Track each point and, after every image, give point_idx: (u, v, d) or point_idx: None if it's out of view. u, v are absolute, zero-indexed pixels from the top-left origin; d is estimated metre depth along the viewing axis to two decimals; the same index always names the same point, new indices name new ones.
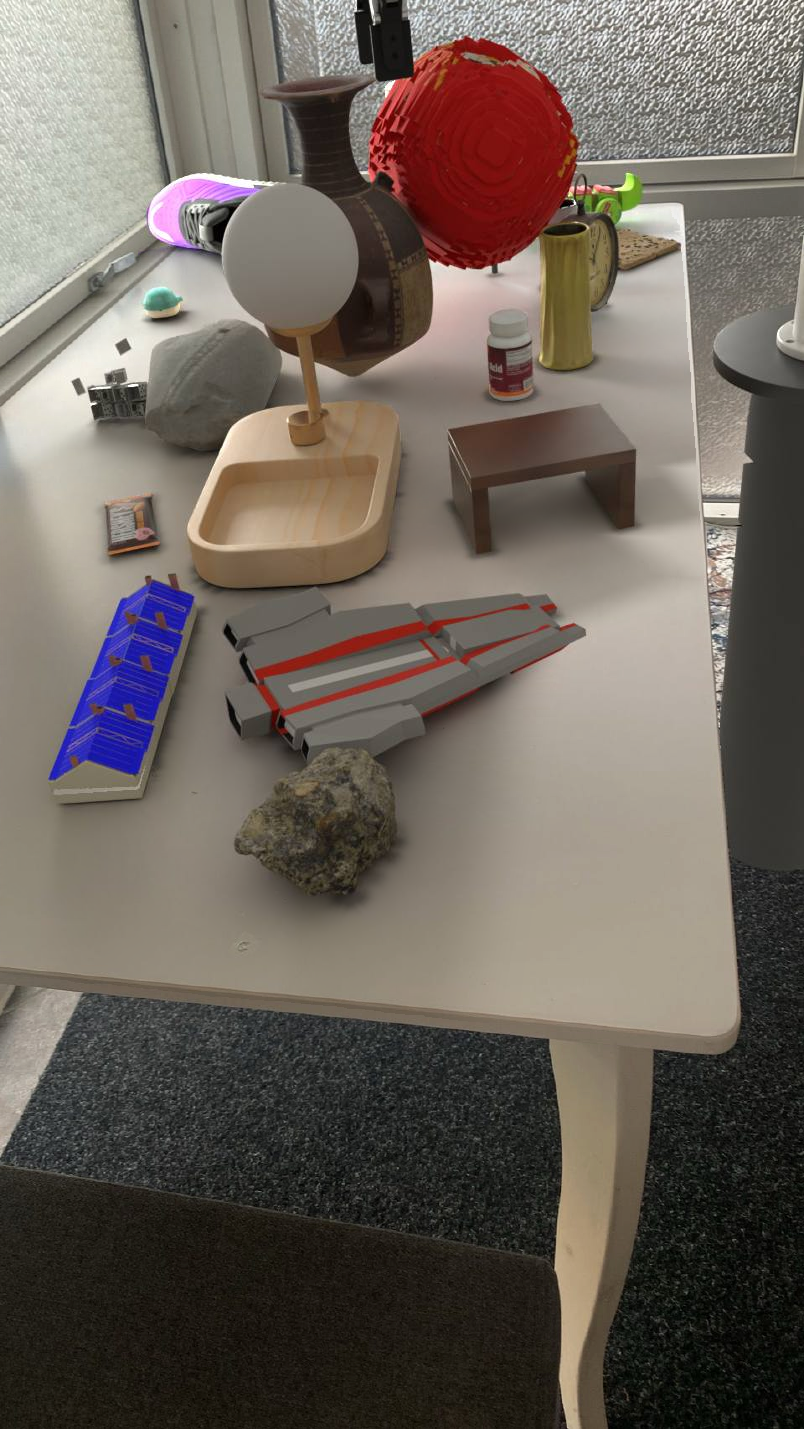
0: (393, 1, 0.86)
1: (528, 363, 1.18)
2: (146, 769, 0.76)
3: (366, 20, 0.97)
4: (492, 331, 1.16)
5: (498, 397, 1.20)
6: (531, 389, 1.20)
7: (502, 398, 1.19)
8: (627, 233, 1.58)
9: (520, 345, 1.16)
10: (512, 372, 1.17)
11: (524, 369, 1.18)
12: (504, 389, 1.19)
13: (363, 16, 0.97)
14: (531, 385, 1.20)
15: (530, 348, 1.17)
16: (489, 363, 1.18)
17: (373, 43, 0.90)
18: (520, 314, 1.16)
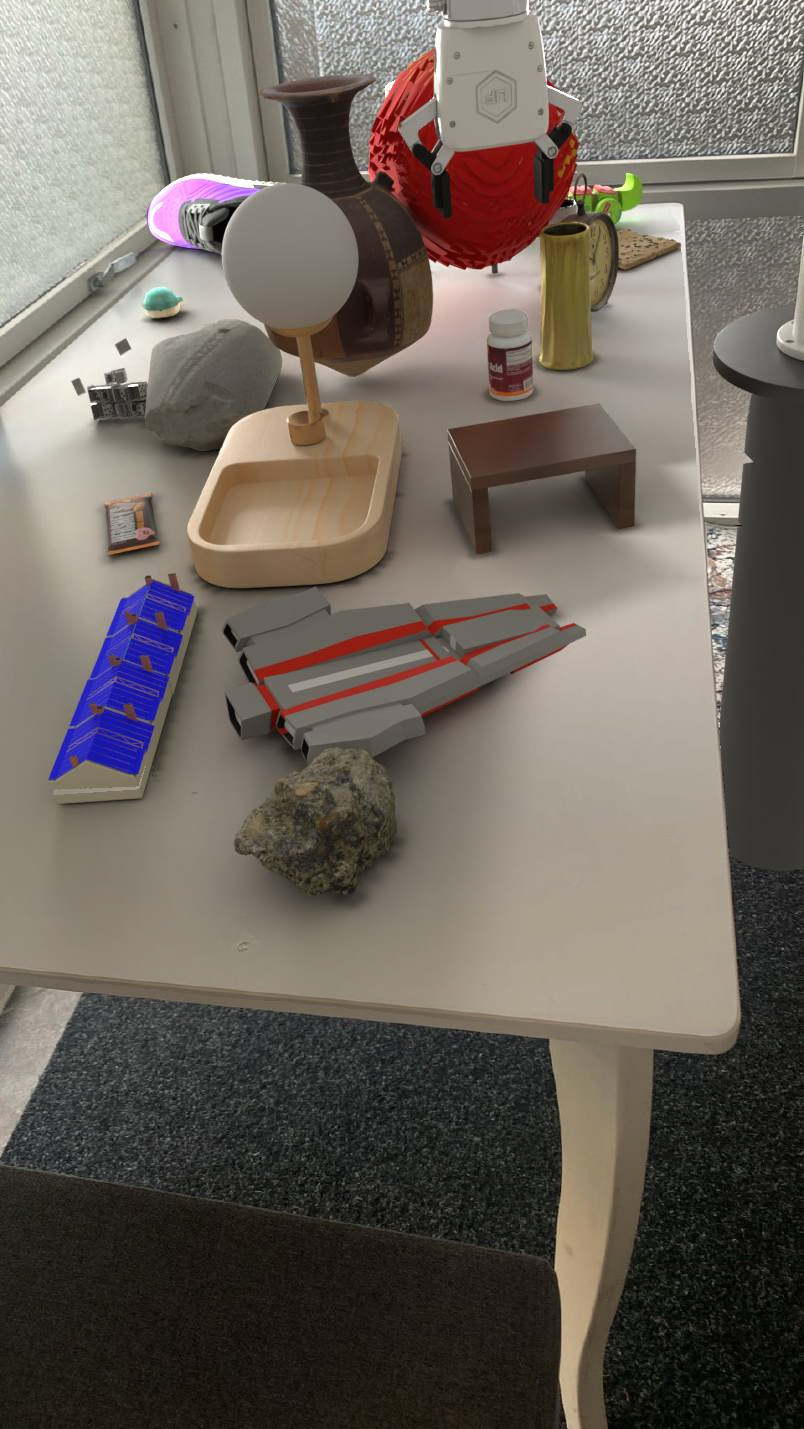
0: None
1: (528, 363, 1.18)
2: (146, 769, 0.76)
3: (535, 163, 1.08)
4: (492, 331, 1.16)
5: (498, 397, 1.20)
6: (531, 389, 1.20)
7: (502, 398, 1.19)
8: (627, 233, 1.58)
9: (520, 345, 1.16)
10: (513, 372, 1.17)
11: (524, 369, 1.18)
12: (504, 389, 1.19)
13: (535, 159, 1.08)
14: (531, 385, 1.20)
15: (530, 348, 1.17)
16: (489, 363, 1.18)
17: None
18: (520, 314, 1.16)
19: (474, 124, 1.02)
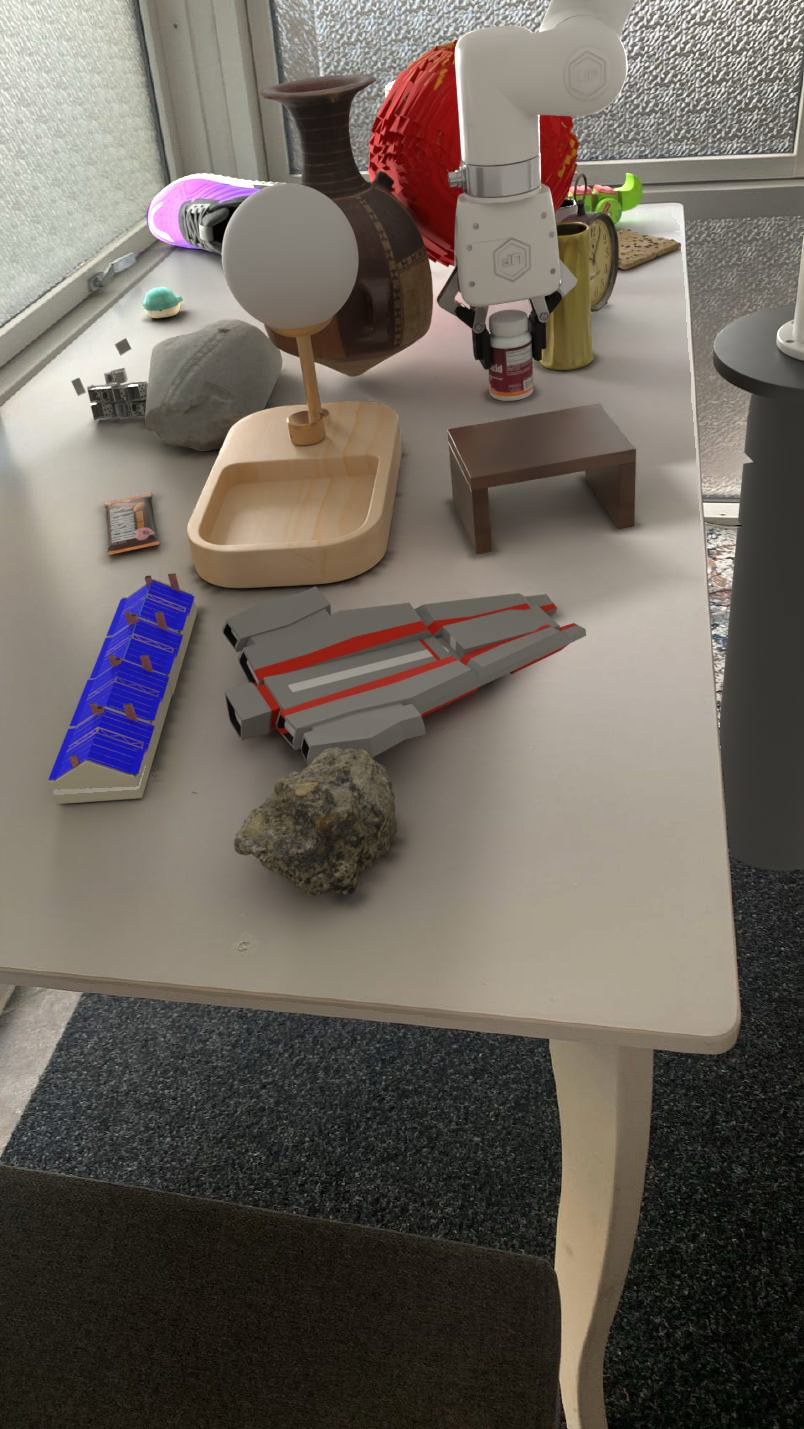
0: None
1: (528, 363, 1.18)
2: (146, 769, 0.76)
3: (529, 324, 1.18)
4: (492, 331, 1.16)
5: (498, 397, 1.20)
6: (531, 389, 1.20)
7: (502, 398, 1.19)
8: (627, 233, 1.58)
9: (519, 345, 1.16)
10: (512, 372, 1.17)
11: (524, 369, 1.18)
12: (504, 389, 1.19)
13: (529, 320, 1.18)
14: (531, 385, 1.20)
15: (530, 348, 1.17)
16: None
17: None
18: (520, 314, 1.16)
19: (492, 283, 1.11)
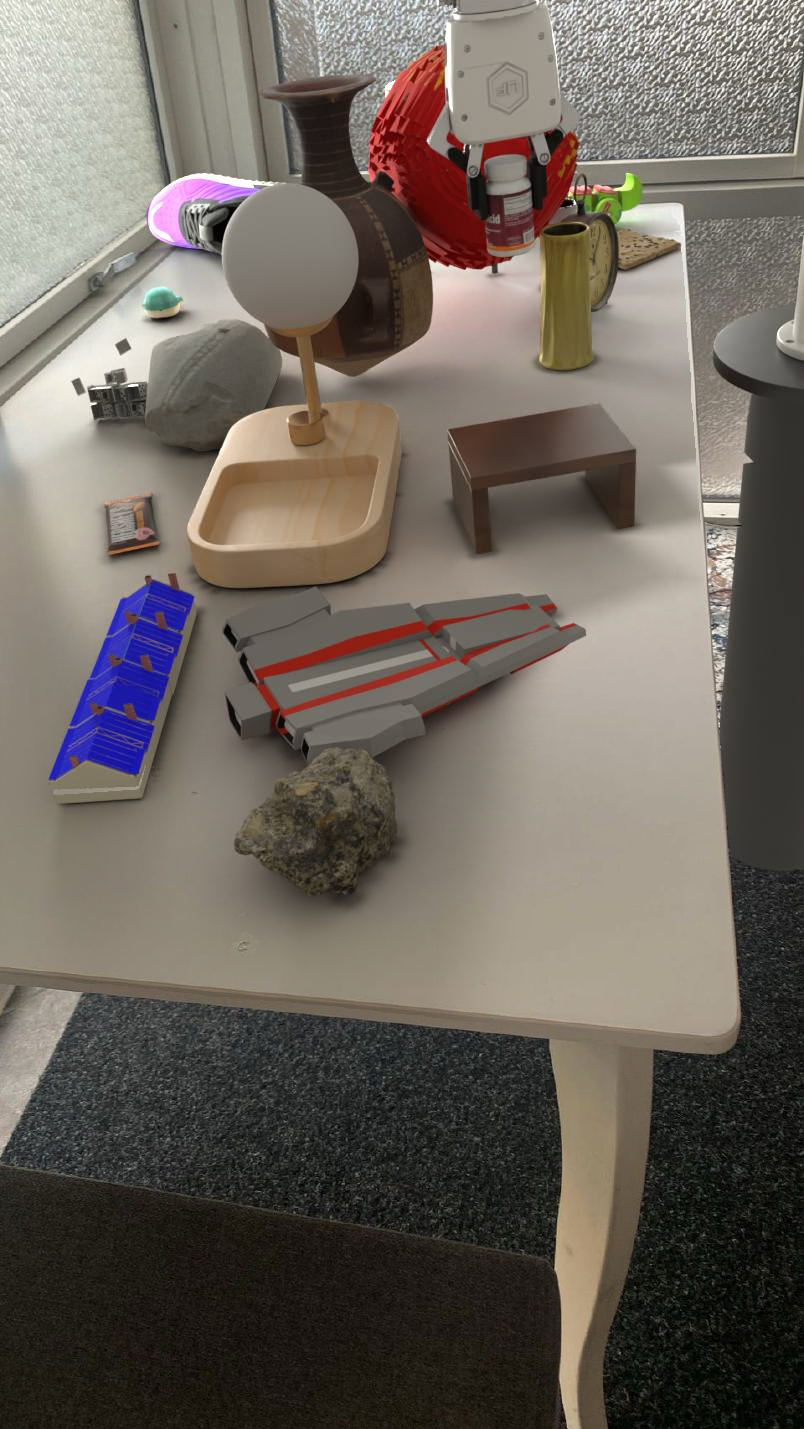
0: None
1: (528, 212, 1.08)
2: (146, 769, 0.76)
3: (528, 170, 1.08)
4: (488, 176, 1.07)
5: (496, 253, 1.10)
6: (532, 244, 1.10)
7: (500, 254, 1.10)
8: (627, 233, 1.58)
9: (518, 190, 1.06)
10: (511, 222, 1.08)
11: (524, 220, 1.08)
12: (502, 242, 1.09)
13: (528, 165, 1.08)
14: (532, 239, 1.10)
15: (530, 195, 1.08)
16: None
17: None
18: (518, 157, 1.07)
19: (486, 117, 1.02)
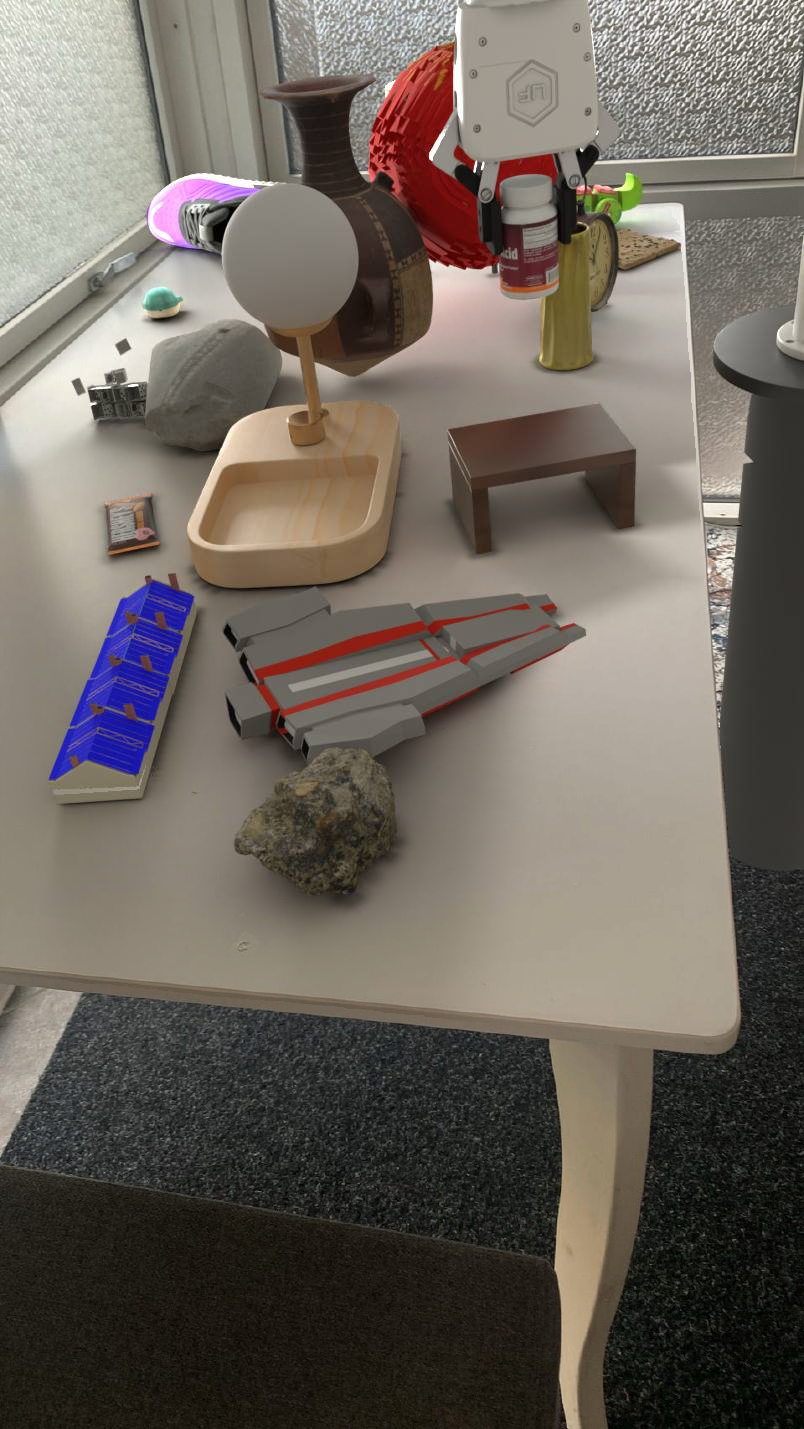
0: None
1: (552, 246, 0.88)
2: (146, 769, 0.76)
3: (554, 194, 0.87)
4: (504, 201, 0.86)
5: (512, 295, 0.90)
6: (556, 284, 0.90)
7: (517, 296, 0.89)
8: (627, 233, 1.58)
9: (541, 219, 0.86)
10: (531, 258, 0.87)
11: (547, 255, 0.88)
12: (520, 282, 0.89)
13: (554, 189, 0.87)
14: (556, 279, 0.90)
15: (555, 226, 0.87)
16: None
17: None
18: (542, 178, 0.86)
19: (504, 128, 0.81)
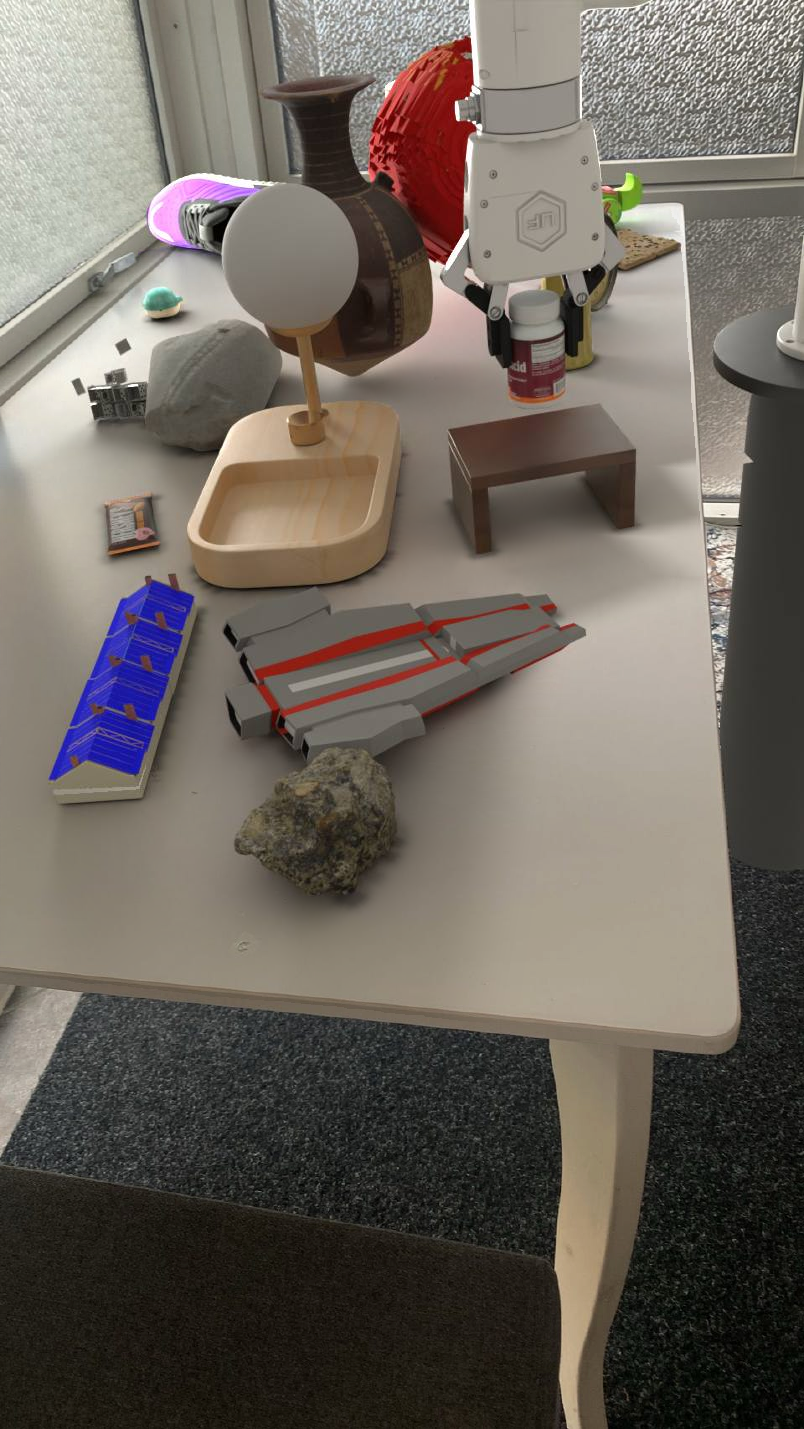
0: None
1: (559, 360, 0.90)
2: (146, 769, 0.76)
3: (561, 309, 0.90)
4: (513, 318, 0.88)
5: (520, 404, 0.92)
6: (563, 394, 0.92)
7: (525, 406, 0.91)
8: (627, 233, 1.58)
9: (549, 336, 0.88)
10: (539, 371, 0.89)
11: (555, 368, 0.90)
12: (528, 394, 0.91)
13: (561, 304, 0.90)
14: (563, 389, 0.92)
15: (562, 340, 0.89)
16: None
17: None
18: (549, 295, 0.88)
19: (514, 253, 0.83)
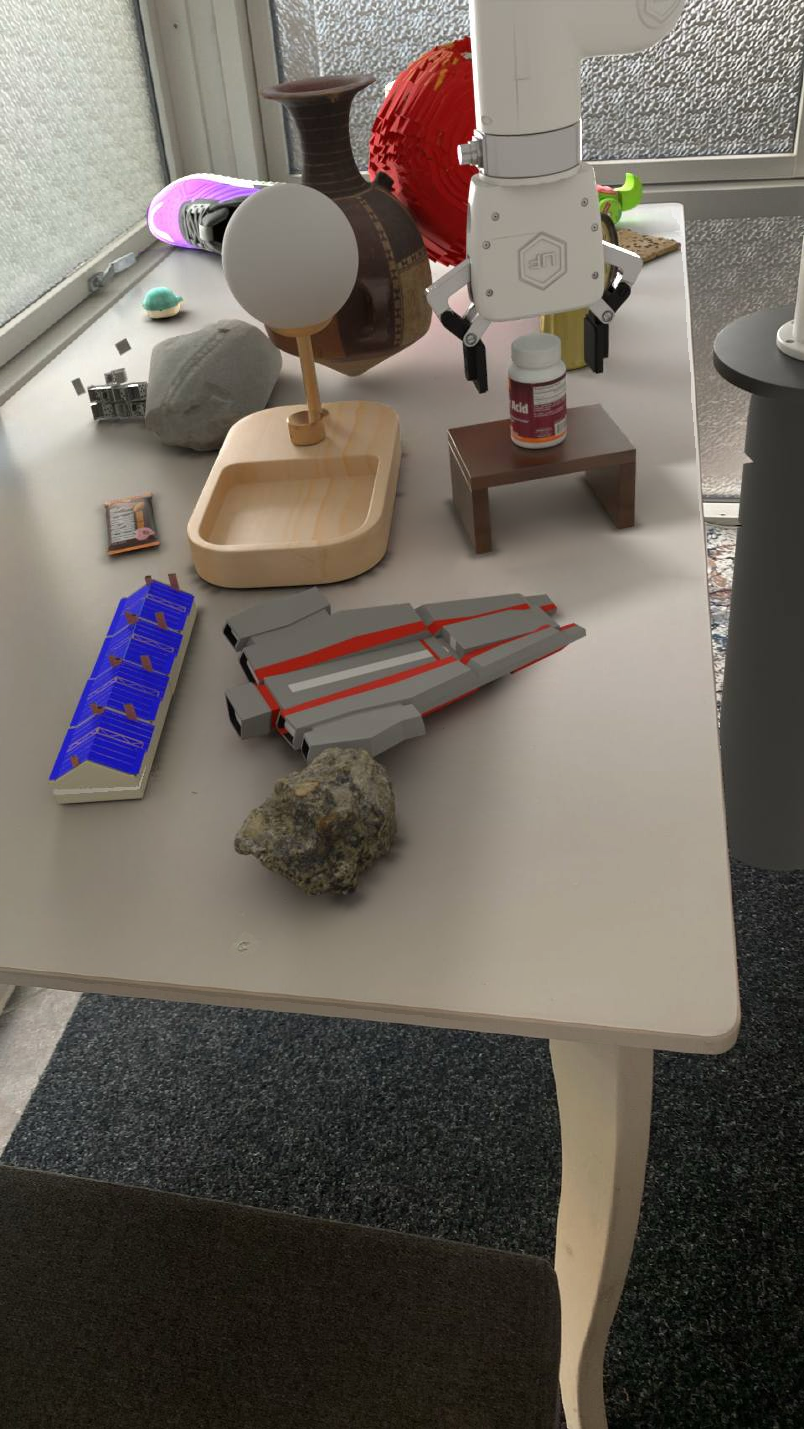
0: None
1: (561, 401, 0.92)
2: (146, 769, 0.76)
3: (586, 326, 0.91)
4: (515, 361, 0.90)
5: (522, 444, 0.94)
6: (564, 433, 0.94)
7: (527, 445, 0.94)
8: (627, 233, 1.58)
9: (551, 379, 0.90)
10: (541, 413, 0.92)
11: (556, 409, 0.92)
12: (530, 434, 0.93)
13: (586, 321, 0.91)
14: (564, 429, 0.94)
15: (564, 382, 0.91)
16: (511, 401, 0.93)
17: None
18: (551, 339, 0.90)
19: (515, 292, 0.85)
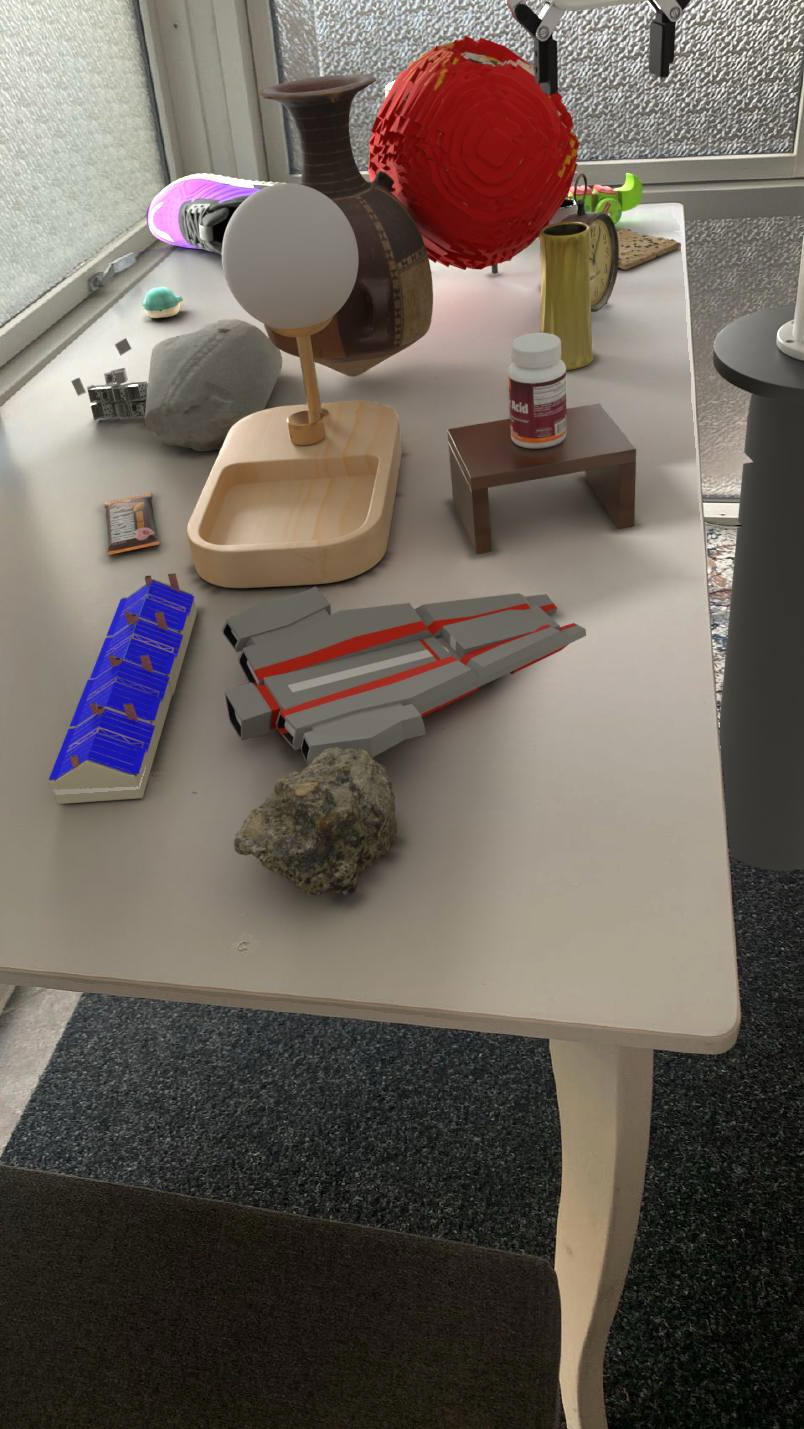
0: (517, 19, 0.91)
1: (561, 401, 0.92)
2: (147, 769, 0.76)
3: (653, 30, 0.94)
4: (515, 361, 0.90)
5: (522, 444, 0.94)
6: (564, 433, 0.94)
7: (527, 445, 0.94)
8: (627, 233, 1.58)
9: (551, 379, 0.90)
10: (541, 413, 0.92)
11: (556, 409, 0.92)
12: (530, 434, 0.93)
13: (653, 25, 0.94)
14: (564, 429, 0.94)
15: (564, 382, 0.91)
16: (511, 401, 0.93)
17: None
18: (551, 339, 0.90)
19: None
